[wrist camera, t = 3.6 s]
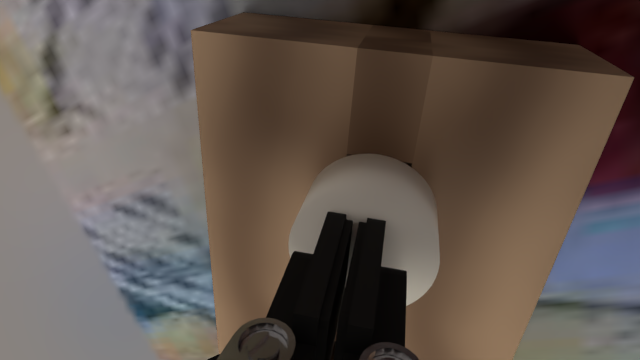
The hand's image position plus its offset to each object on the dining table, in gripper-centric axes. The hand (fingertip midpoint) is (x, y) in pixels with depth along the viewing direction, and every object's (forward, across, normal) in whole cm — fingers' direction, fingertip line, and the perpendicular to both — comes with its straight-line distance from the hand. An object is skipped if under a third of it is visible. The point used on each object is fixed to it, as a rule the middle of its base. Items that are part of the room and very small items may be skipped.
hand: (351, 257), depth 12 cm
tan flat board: (+9, 0, +10) cm, 14 cm away
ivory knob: (+6, 0, 0) cm, 6 cm away
